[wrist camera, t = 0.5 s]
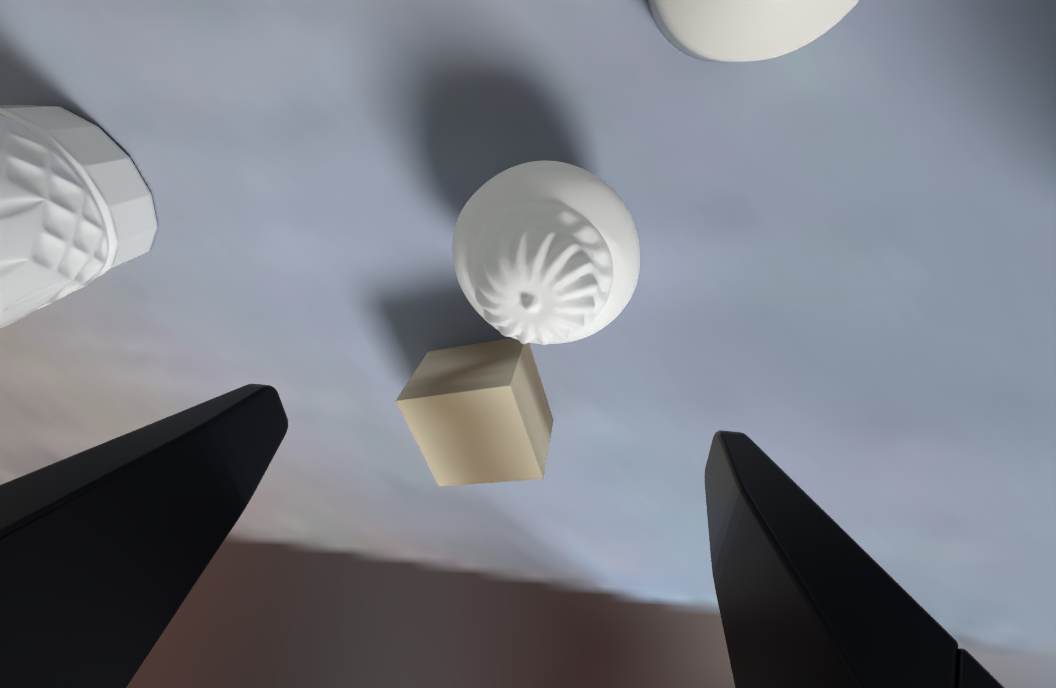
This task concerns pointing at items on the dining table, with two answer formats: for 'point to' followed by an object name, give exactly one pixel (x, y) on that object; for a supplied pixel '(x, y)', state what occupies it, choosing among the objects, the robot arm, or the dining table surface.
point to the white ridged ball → (546, 252)
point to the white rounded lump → (745, 26)
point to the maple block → (479, 413)
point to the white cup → (64, 207)
